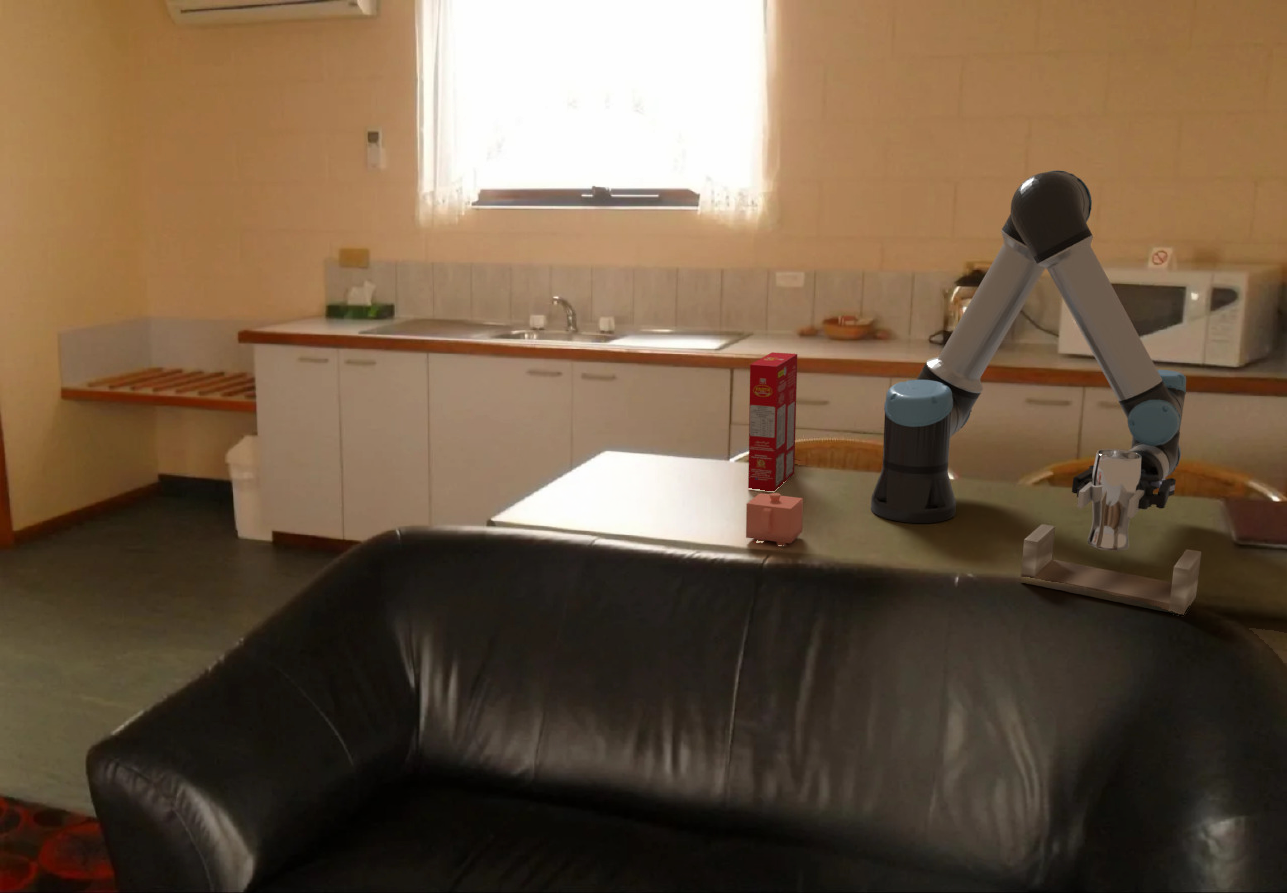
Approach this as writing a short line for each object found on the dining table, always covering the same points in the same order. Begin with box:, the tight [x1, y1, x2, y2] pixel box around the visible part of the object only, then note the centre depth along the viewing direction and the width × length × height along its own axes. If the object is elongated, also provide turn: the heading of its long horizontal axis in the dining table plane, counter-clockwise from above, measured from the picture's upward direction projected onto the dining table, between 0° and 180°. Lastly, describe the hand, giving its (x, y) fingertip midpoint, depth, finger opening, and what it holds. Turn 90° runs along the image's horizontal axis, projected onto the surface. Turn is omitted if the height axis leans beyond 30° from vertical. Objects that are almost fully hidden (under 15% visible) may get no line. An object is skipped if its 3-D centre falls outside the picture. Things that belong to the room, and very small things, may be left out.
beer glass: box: [1087, 448, 1142, 552], centre depth 179 cm, size 7×7×15 cm
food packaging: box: [747, 352, 798, 491], centre depth 225 cm, size 15×5×25 cm, turn 157°
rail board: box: [1020, 523, 1202, 616], centre depth 170 cm, size 23×9×7 cm, turn 55°
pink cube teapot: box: [745, 492, 804, 546], centre depth 193 cm, size 8×12×8 cm, turn 155°
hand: (1105, 504), depth 175 cm, fingers closed on beer glass, 7 cm apart
